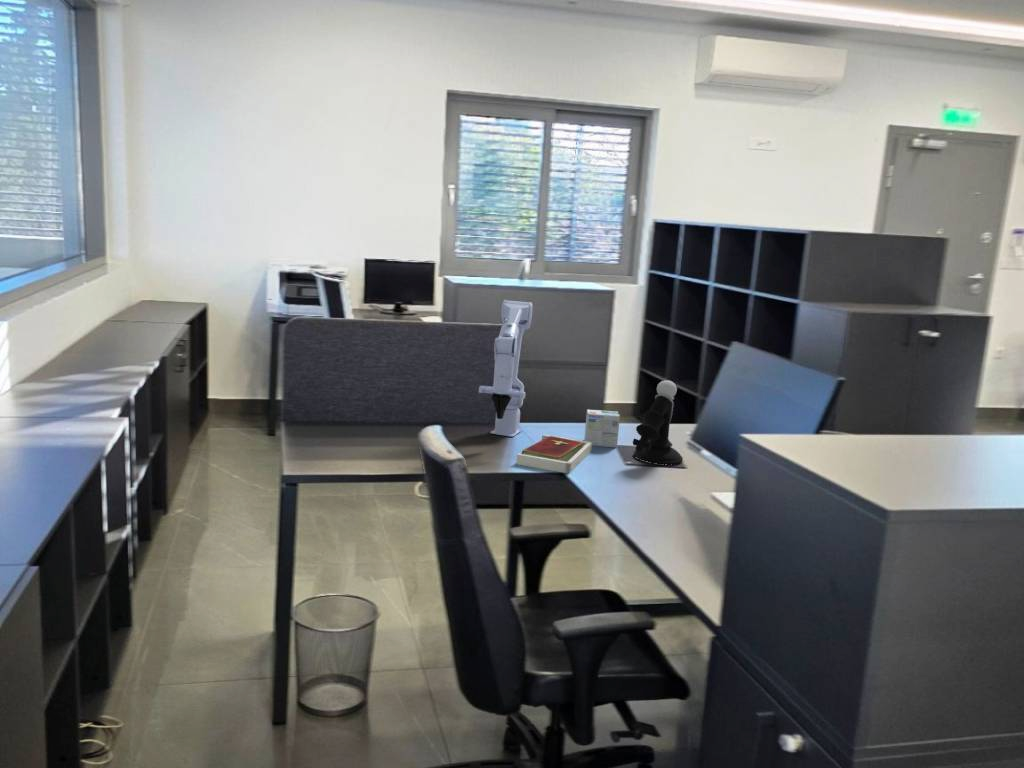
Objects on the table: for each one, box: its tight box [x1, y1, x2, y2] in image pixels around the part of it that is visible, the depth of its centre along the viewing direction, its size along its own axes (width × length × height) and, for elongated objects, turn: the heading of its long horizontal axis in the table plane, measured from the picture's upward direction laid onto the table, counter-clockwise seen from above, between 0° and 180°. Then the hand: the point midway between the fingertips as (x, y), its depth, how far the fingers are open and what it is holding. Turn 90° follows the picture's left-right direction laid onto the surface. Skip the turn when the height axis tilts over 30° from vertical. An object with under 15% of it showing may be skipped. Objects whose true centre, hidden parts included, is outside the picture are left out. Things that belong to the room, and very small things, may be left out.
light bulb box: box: [583, 409, 621, 448], centre depth 280 cm, size 11×7×11 cm, turn 89°
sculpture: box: [632, 379, 684, 466], centre depth 264 cm, size 15×24×25 cm, turn 147°
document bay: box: [515, 434, 593, 474], centre depth 261 cm, size 26×16×3 cm, turn 161°
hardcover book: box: [520, 435, 584, 462], centre depth 262 cm, size 12×21×4 cm, turn 155°
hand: (500, 418), depth 266 cm, fingers closed
